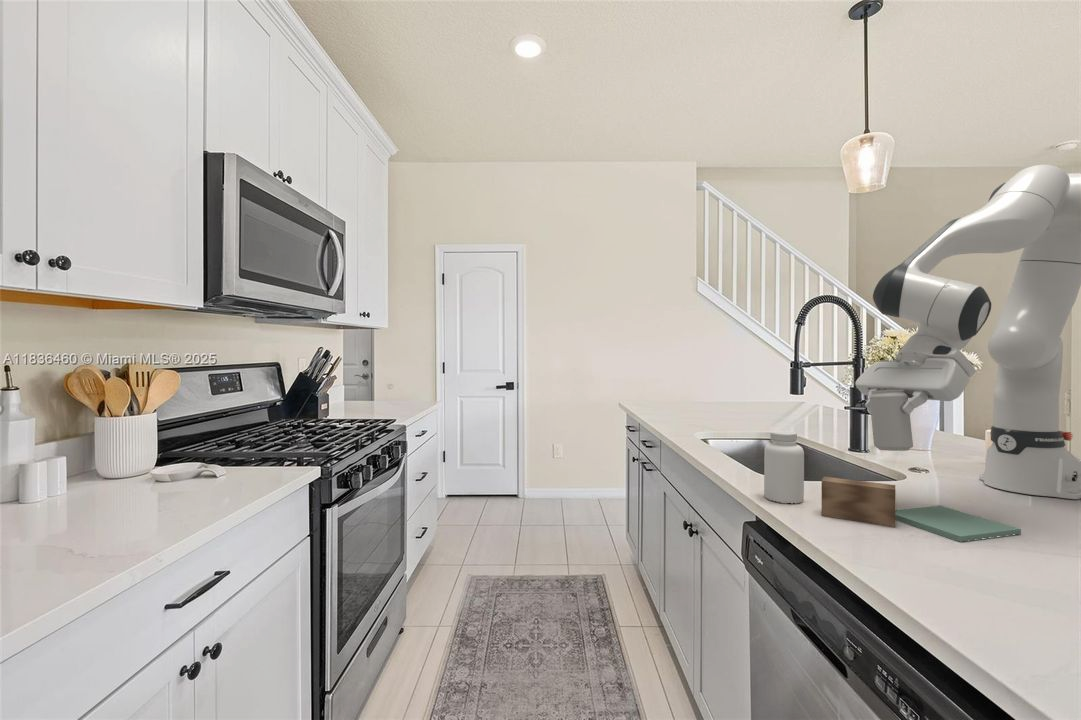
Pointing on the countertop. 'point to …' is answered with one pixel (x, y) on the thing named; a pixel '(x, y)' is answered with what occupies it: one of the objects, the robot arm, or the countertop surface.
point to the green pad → (953, 523)
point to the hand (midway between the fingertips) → (885, 409)
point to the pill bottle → (784, 468)
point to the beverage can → (890, 420)
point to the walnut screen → (858, 501)
